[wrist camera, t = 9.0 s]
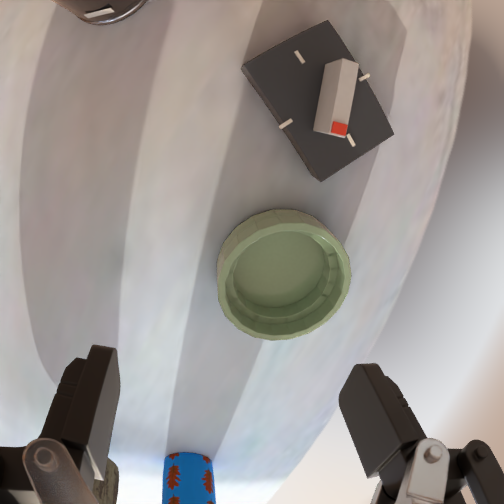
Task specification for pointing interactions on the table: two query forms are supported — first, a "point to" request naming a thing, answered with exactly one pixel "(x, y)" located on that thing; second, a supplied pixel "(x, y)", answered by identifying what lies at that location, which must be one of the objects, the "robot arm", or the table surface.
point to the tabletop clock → (107, 485)
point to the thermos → (188, 479)
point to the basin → (281, 275)
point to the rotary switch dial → (316, 99)
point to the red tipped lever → (336, 97)
